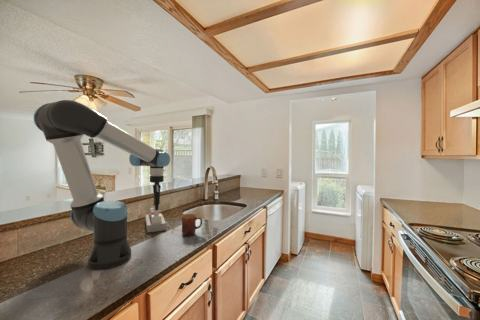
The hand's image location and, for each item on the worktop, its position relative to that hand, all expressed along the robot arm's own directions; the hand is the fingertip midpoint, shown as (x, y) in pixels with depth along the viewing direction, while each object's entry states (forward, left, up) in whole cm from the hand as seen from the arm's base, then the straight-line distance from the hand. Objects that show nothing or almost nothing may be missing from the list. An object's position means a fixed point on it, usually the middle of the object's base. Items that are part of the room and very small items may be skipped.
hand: (156, 215), depth 119 cm
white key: (0, 0, -5) cm, 5 cm away
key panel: (0, +7, -8) cm, 11 cm away
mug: (+17, -17, -9) cm, 25 cm away
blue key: (0, +15, -4) cm, 15 cm away
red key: (0, +7, -4) cm, 8 cm away
